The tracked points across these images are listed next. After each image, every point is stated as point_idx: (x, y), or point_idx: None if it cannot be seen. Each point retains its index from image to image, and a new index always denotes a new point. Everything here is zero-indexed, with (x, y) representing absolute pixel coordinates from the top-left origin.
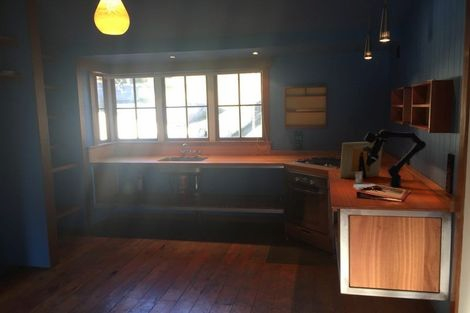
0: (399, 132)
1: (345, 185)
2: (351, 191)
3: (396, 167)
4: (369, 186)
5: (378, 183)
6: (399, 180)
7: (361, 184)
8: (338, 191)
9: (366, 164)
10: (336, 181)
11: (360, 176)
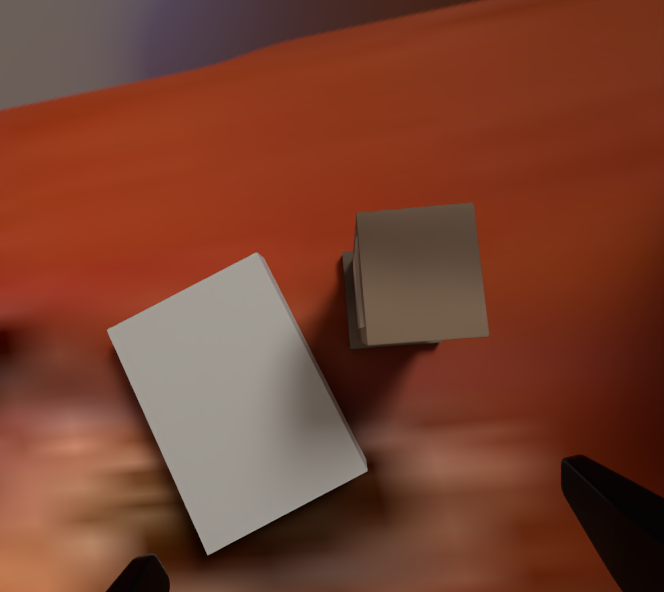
0: None
1: (353, 158)
2: (38, 270)
3: None
4: (170, 449)
5: None
6: None
7: (281, 341)
8: (17, 150)
9: (567, 481)
10: (579, 20)
11: (360, 317)
